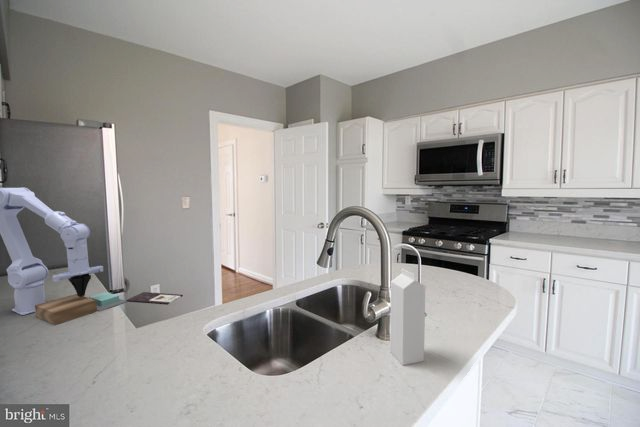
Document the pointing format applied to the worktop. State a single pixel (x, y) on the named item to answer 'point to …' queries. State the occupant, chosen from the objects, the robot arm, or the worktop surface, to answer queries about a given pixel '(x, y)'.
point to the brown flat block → (65, 309)
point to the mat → (111, 305)
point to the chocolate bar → (154, 298)
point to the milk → (407, 318)
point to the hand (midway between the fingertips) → (81, 295)
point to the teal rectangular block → (105, 298)
